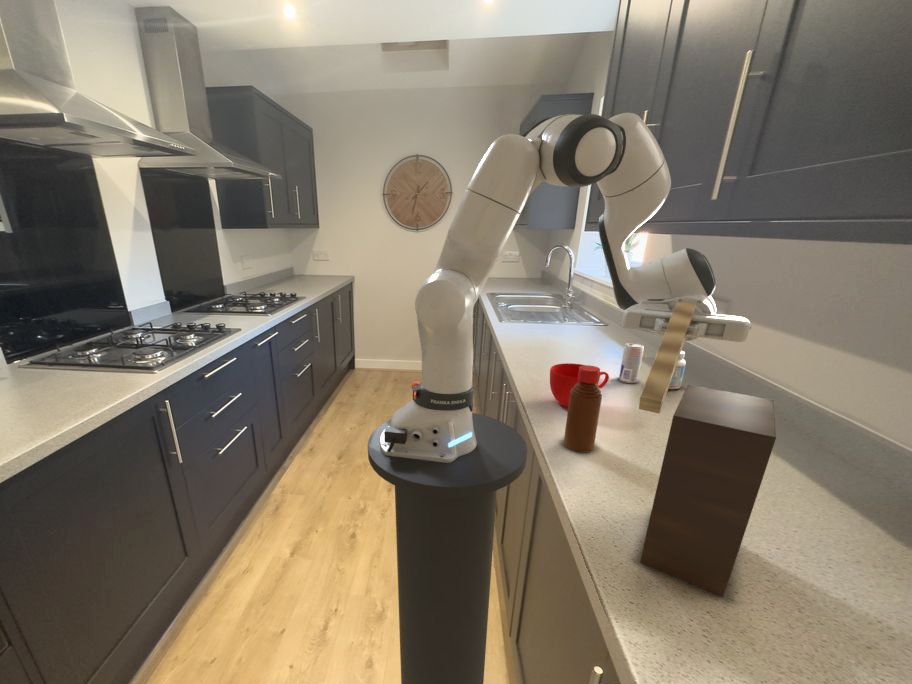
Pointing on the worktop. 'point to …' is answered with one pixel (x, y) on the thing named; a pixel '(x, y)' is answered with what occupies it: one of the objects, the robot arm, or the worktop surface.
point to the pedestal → (708, 485)
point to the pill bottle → (678, 372)
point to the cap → (588, 374)
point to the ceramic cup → (567, 381)
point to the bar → (666, 358)
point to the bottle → (582, 417)
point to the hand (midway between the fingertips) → (676, 330)
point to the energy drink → (631, 362)
